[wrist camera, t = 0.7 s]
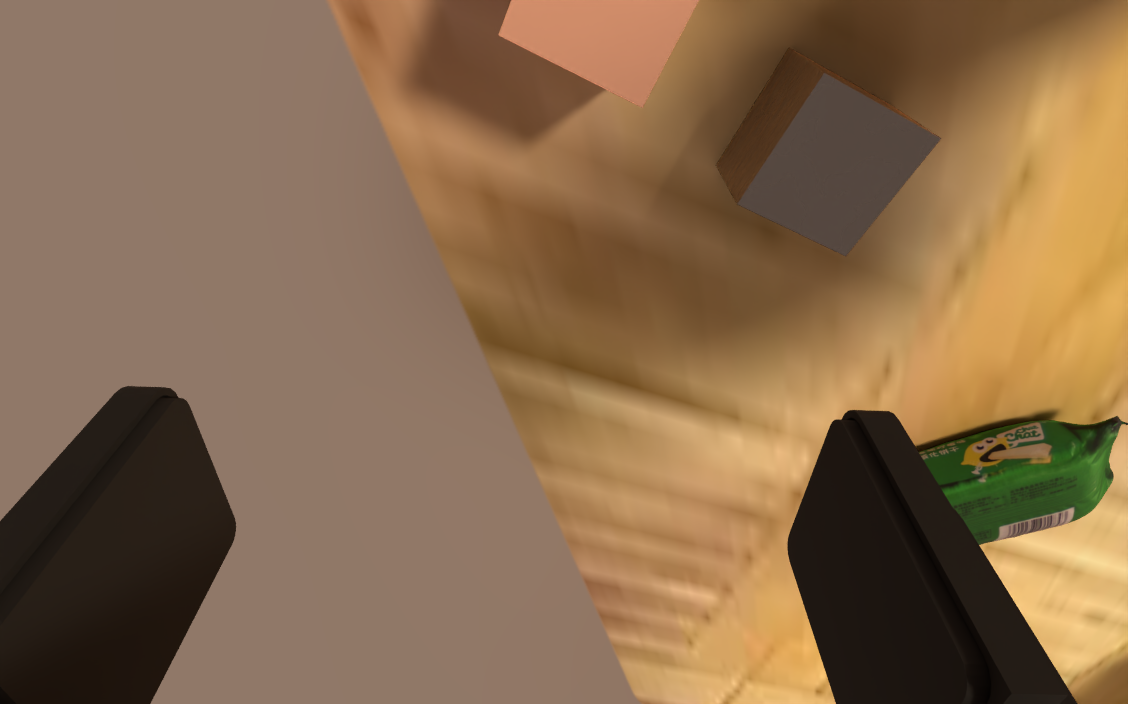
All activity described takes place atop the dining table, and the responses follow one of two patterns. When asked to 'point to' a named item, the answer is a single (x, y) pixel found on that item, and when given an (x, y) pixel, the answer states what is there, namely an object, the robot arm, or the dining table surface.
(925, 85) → the dining table surface
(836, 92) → the block
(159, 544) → the robot arm
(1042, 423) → the snack package
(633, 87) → the orange and beige cube
